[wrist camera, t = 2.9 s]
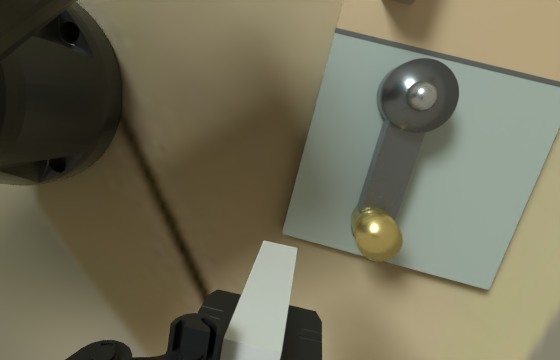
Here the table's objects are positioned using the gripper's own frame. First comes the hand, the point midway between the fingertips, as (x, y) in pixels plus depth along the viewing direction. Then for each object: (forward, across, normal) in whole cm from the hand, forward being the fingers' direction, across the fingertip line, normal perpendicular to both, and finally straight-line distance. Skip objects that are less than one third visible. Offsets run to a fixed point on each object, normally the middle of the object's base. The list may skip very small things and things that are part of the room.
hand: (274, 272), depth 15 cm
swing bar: (+11, +6, +5) cm, 14 cm away
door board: (+13, +8, +9) cm, 17 cm away
